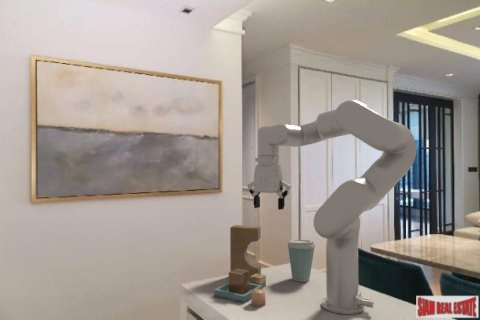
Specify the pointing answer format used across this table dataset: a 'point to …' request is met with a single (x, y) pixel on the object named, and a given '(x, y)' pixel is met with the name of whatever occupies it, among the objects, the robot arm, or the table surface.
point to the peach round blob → (258, 297)
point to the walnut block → (239, 281)
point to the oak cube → (258, 279)
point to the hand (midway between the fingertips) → (268, 208)
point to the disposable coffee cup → (301, 258)
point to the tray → (224, 293)
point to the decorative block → (243, 248)
